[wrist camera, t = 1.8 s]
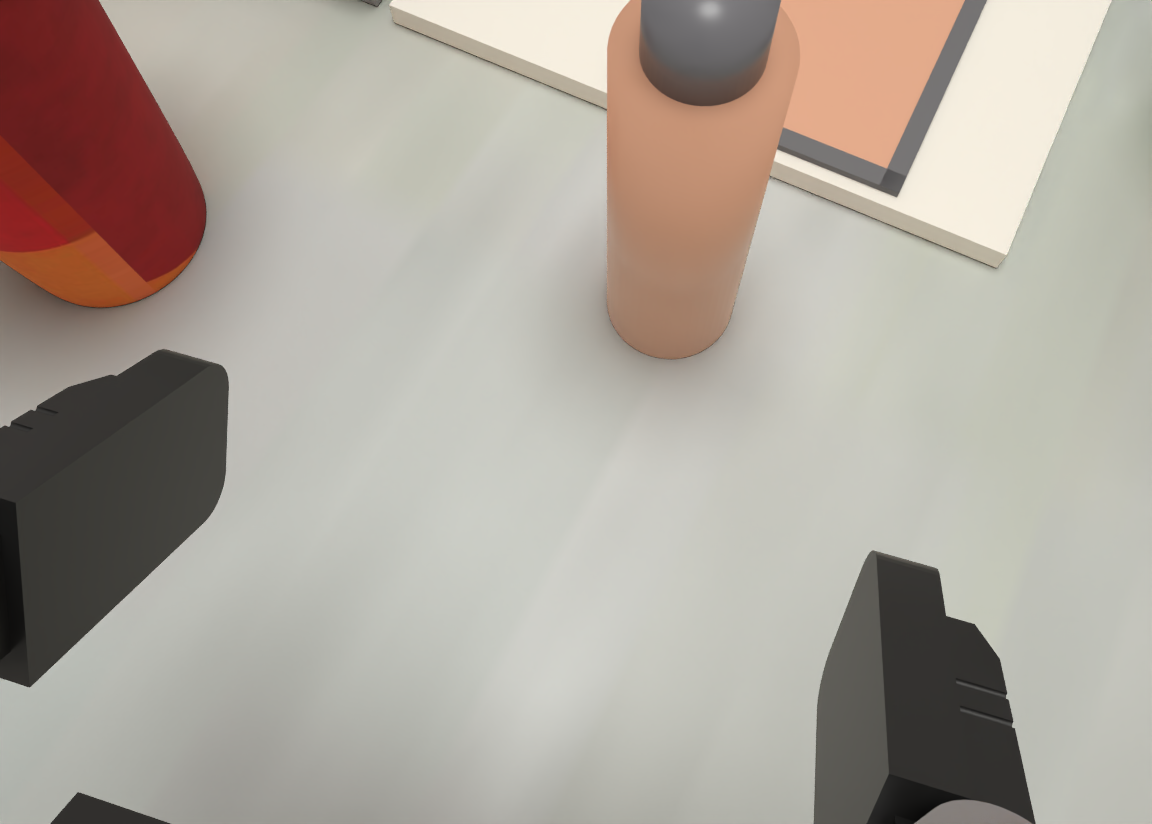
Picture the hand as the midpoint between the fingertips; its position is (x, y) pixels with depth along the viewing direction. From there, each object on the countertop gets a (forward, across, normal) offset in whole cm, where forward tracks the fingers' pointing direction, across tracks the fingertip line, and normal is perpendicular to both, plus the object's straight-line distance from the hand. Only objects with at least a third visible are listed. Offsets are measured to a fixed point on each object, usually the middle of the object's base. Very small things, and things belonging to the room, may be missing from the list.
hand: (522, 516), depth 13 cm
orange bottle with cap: (+18, 0, +3) cm, 18 cm away
